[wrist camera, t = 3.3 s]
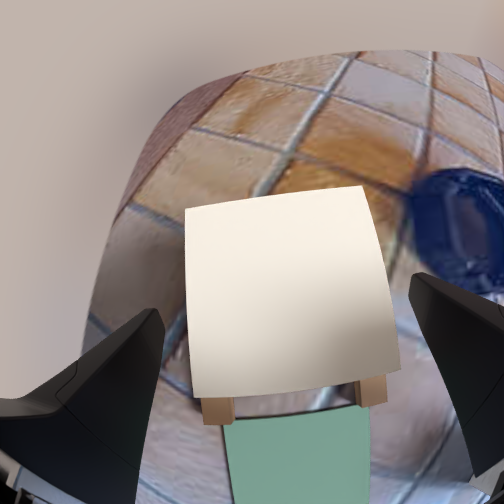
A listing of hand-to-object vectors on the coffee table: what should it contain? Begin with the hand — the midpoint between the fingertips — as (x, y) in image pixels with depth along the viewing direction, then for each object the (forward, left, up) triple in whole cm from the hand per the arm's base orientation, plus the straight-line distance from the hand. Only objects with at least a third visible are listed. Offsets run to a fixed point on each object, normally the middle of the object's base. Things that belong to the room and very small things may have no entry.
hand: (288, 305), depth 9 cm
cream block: (0, 0, -8) cm, 8 cm away
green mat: (-9, -5, -8) cm, 13 cm away
